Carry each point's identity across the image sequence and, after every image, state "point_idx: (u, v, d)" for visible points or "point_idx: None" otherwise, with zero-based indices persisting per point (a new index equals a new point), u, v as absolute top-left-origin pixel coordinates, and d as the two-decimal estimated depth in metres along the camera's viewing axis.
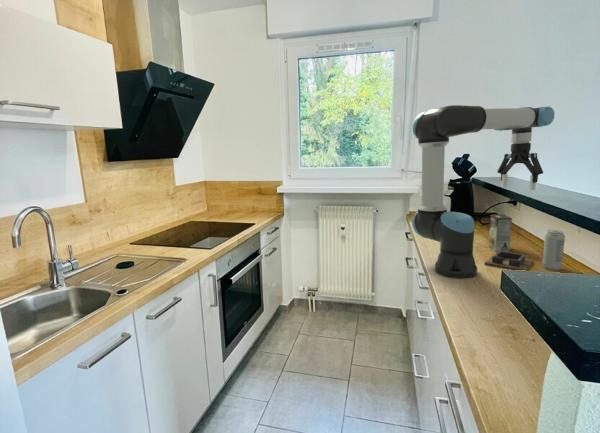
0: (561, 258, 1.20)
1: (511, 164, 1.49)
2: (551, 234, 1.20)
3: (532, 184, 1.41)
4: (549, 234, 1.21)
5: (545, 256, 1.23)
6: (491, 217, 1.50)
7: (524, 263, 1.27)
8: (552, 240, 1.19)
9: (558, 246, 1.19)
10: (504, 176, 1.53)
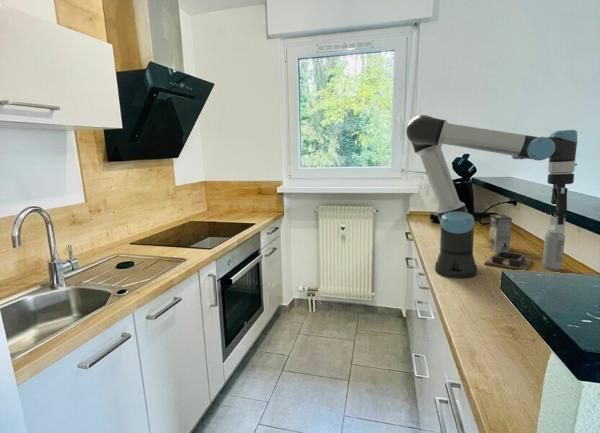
0: (561, 258, 1.20)
1: None
2: (551, 234, 1.20)
3: (557, 226, 1.14)
4: (549, 234, 1.21)
5: (545, 256, 1.23)
6: (491, 217, 1.50)
7: (524, 263, 1.27)
8: (552, 240, 1.19)
9: (558, 246, 1.19)
10: None
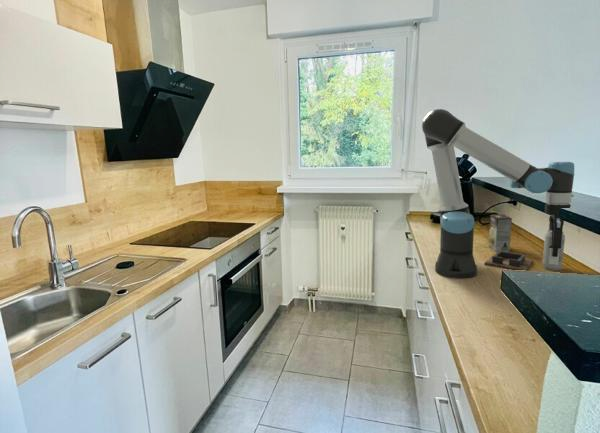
0: (561, 258, 1.20)
1: None
2: (551, 234, 1.20)
3: (552, 258, 1.20)
4: (549, 233, 1.21)
5: (545, 256, 1.23)
6: (491, 217, 1.50)
7: (524, 263, 1.27)
8: None
9: None
10: None
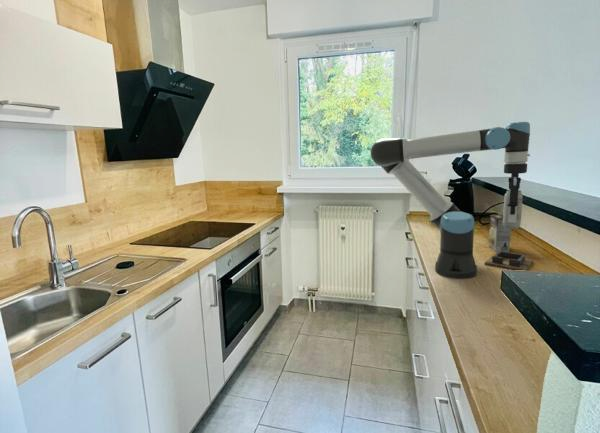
0: (519, 216, 1.24)
1: None
2: (509, 193, 1.24)
3: (510, 216, 1.24)
4: (507, 193, 1.25)
5: (504, 215, 1.27)
6: (491, 217, 1.50)
7: (524, 263, 1.27)
8: None
9: None
10: None
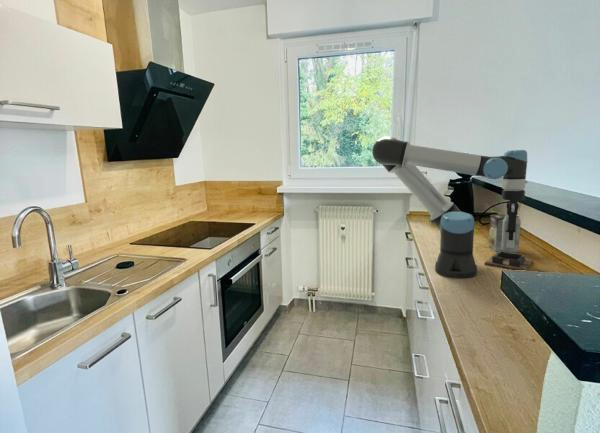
0: (517, 242, 1.26)
1: None
2: None
3: (508, 242, 1.26)
4: (506, 218, 1.27)
5: (503, 240, 1.29)
6: (491, 217, 1.50)
7: (524, 263, 1.27)
8: None
9: None
10: None
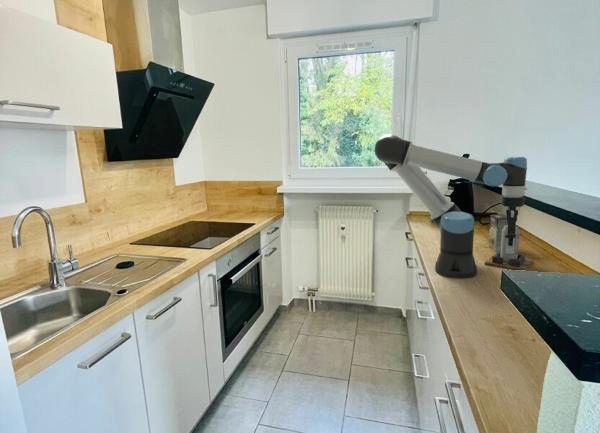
0: (516, 251, 1.27)
1: None
2: (507, 228, 1.27)
3: (508, 247, 1.25)
4: (505, 228, 1.28)
5: (502, 249, 1.30)
6: (491, 217, 1.50)
7: (524, 263, 1.27)
8: None
9: None
10: None
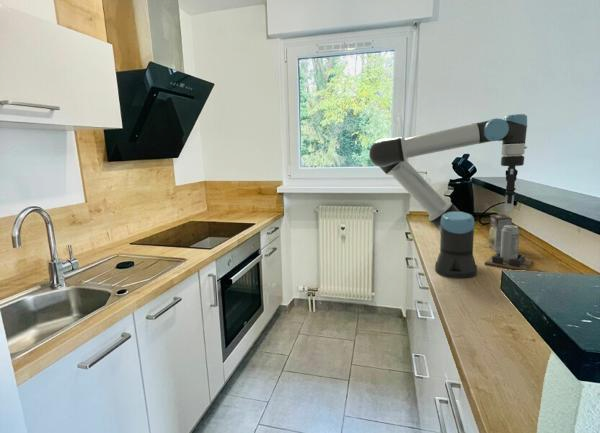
0: (516, 251, 1.27)
1: None
2: (506, 228, 1.27)
3: (507, 205, 1.22)
4: (504, 228, 1.28)
5: (501, 249, 1.30)
6: (491, 217, 1.50)
7: (524, 263, 1.27)
8: (507, 234, 1.27)
9: (513, 240, 1.26)
10: None
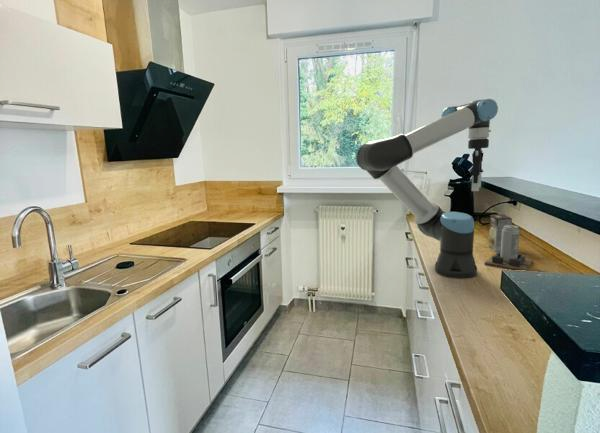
0: (516, 251, 1.27)
1: None
2: (507, 228, 1.27)
3: (473, 185, 1.30)
4: (505, 228, 1.28)
5: (502, 249, 1.30)
6: (491, 217, 1.50)
7: (524, 263, 1.27)
8: (507, 234, 1.27)
9: (513, 240, 1.26)
10: None
